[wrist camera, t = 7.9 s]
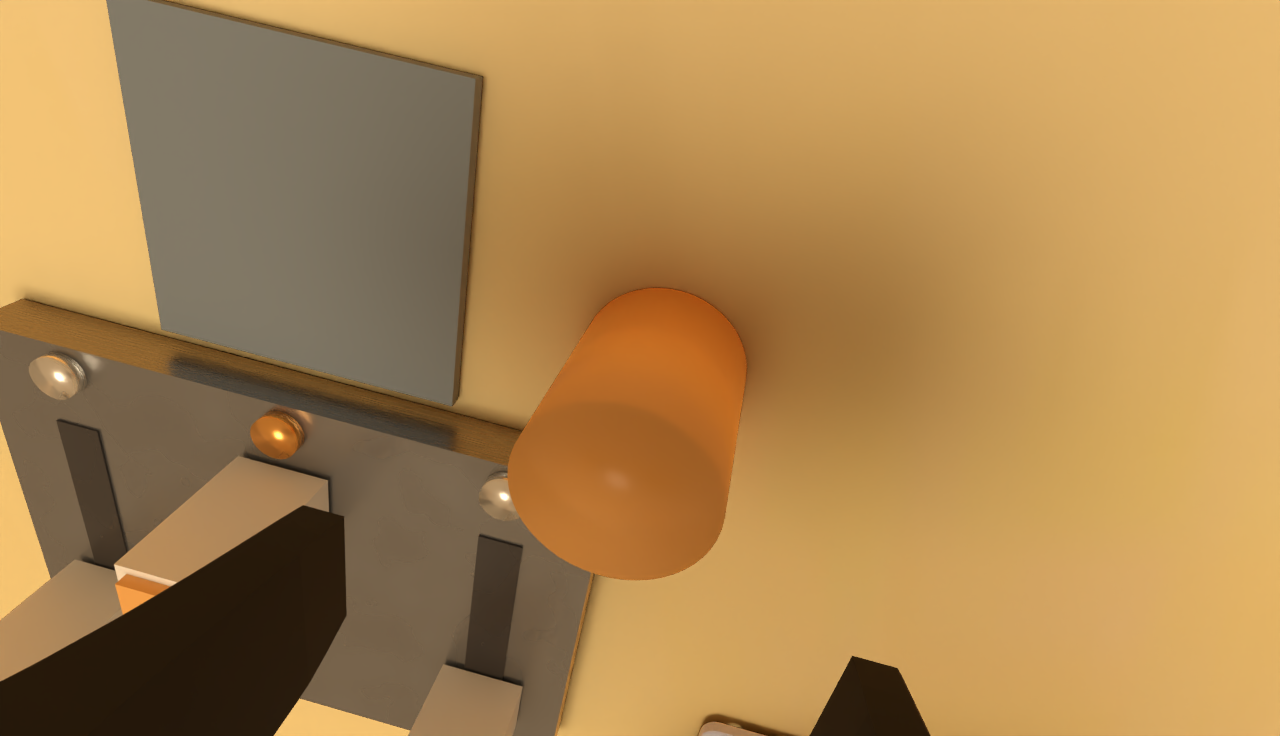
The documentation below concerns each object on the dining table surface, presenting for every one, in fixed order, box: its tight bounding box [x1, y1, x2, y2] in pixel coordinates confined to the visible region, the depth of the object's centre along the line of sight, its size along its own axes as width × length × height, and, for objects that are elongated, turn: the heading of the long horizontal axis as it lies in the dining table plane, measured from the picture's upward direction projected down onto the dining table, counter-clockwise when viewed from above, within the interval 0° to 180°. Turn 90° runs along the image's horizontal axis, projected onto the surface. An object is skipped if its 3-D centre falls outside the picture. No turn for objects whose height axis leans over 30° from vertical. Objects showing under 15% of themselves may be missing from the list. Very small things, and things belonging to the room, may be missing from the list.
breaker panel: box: [0, 299, 594, 736], centre depth 21 cm, size 17×12×2 cm
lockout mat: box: [106, 0, 483, 406], centre depth 16 cm, size 8×8×1 cm
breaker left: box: [0, 560, 123, 681], centre depth 20 cm, size 2×2×4 cm
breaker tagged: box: [114, 456, 329, 614], centre depth 17 cm, size 2×2×4 cm
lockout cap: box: [507, 288, 747, 580], centre depth 15 cm, size 4×4×5 cm
